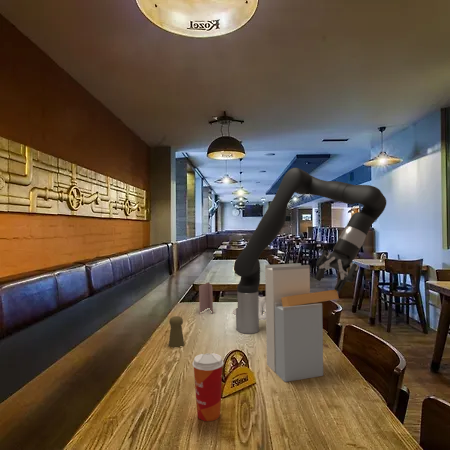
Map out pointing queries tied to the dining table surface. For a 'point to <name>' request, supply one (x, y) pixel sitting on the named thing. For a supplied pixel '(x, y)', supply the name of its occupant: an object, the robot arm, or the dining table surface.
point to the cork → (176, 332)
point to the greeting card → (205, 297)
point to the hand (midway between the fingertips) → (326, 285)
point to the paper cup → (208, 385)
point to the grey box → (299, 341)
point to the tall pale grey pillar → (278, 288)
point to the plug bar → (309, 298)
